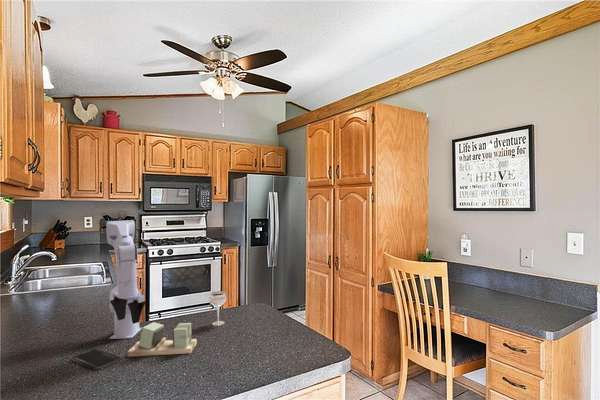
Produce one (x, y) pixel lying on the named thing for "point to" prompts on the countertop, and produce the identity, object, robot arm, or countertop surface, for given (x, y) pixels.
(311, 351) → the countertop surface
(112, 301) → the robot arm
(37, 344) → the countertop surface
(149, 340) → the block
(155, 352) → the block holder
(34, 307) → the countertop surface
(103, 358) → the phone
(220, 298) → the wineglass
